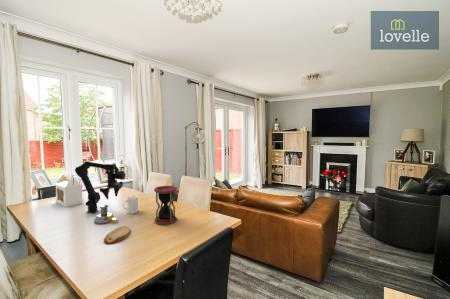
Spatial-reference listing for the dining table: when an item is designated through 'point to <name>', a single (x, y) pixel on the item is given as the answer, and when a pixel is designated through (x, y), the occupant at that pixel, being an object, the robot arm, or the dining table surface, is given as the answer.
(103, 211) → the wedge pin
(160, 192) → the hourglass
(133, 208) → the mug
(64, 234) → the dining table surface
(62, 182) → the gable box
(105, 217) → the rosette
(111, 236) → the slice of bread
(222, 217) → the dining table surface
